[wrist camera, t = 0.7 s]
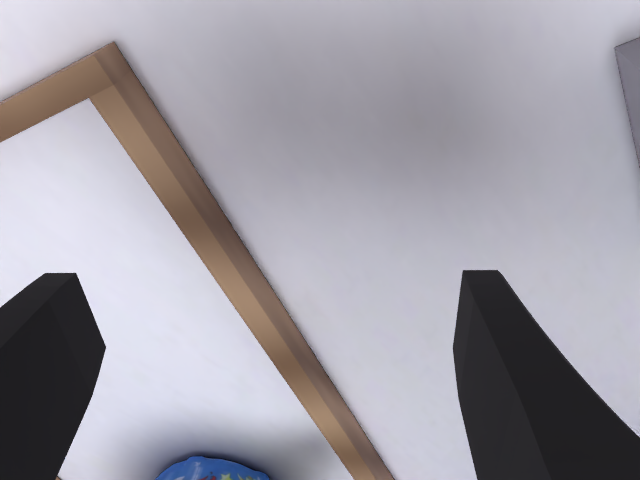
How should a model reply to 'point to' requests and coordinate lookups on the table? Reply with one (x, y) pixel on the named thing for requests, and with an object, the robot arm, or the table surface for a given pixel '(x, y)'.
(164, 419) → the table surface
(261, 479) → the snack cup
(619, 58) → the button box
